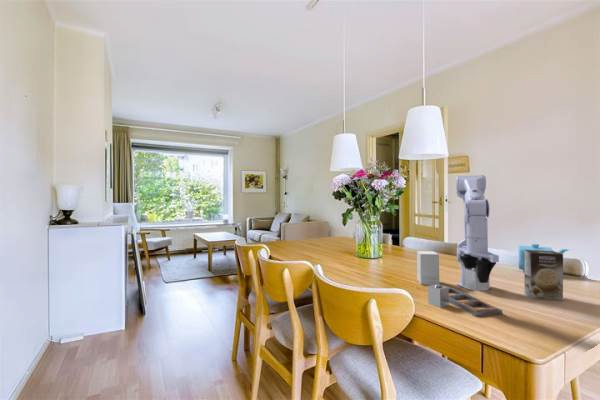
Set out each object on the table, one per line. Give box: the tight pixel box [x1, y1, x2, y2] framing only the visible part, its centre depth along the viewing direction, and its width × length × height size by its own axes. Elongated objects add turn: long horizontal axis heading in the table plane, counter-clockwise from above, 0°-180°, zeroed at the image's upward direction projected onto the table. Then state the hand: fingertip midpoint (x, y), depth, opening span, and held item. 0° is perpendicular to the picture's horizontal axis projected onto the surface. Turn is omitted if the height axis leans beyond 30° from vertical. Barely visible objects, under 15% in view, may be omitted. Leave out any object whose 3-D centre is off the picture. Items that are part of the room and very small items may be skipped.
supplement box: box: [416, 250, 440, 286], centre depth 123 cm, size 7×7×13 cm
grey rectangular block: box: [465, 267, 489, 292], centre depth 93 cm, size 4×4×6 cm
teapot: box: [517, 243, 569, 274], centre depth 135 cm, size 18×16×13 cm
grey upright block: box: [427, 283, 450, 309], centre depth 99 cm, size 4×4×6 cm
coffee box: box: [523, 250, 564, 302], centre depth 103 cm, size 9×6×16 cm
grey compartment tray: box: [449, 286, 503, 317], centre depth 100 cm, size 9×23×2 cm, turn 9°
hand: (477, 280), depth 93 cm, fingers closed on grey rectangular block, 4 cm apart
